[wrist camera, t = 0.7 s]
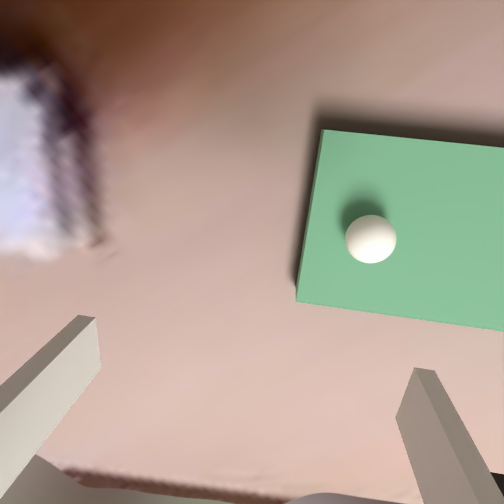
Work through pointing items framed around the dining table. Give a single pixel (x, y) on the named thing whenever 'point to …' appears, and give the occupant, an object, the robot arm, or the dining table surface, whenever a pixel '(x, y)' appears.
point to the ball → (370, 239)
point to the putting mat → (408, 229)
